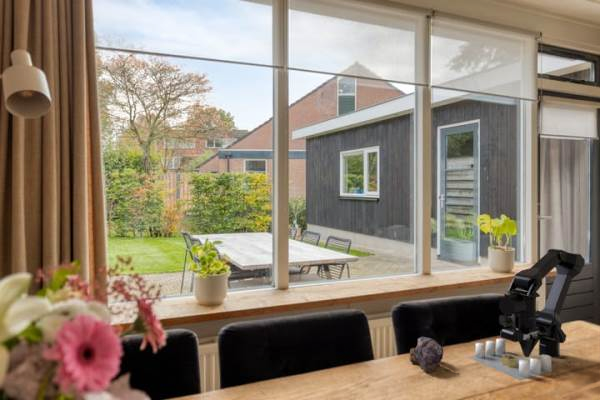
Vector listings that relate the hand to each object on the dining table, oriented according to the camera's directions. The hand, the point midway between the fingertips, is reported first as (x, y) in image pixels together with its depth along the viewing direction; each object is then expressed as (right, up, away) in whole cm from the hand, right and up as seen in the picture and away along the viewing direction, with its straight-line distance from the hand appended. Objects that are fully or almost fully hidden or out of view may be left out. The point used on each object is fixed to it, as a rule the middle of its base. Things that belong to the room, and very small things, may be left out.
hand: (526, 356), depth 143 cm
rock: (-34, -3, -2) cm, 34 cm away
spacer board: (-7, -2, -3) cm, 8 cm away
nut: (-7, -1, -3) cm, 8 cm away
